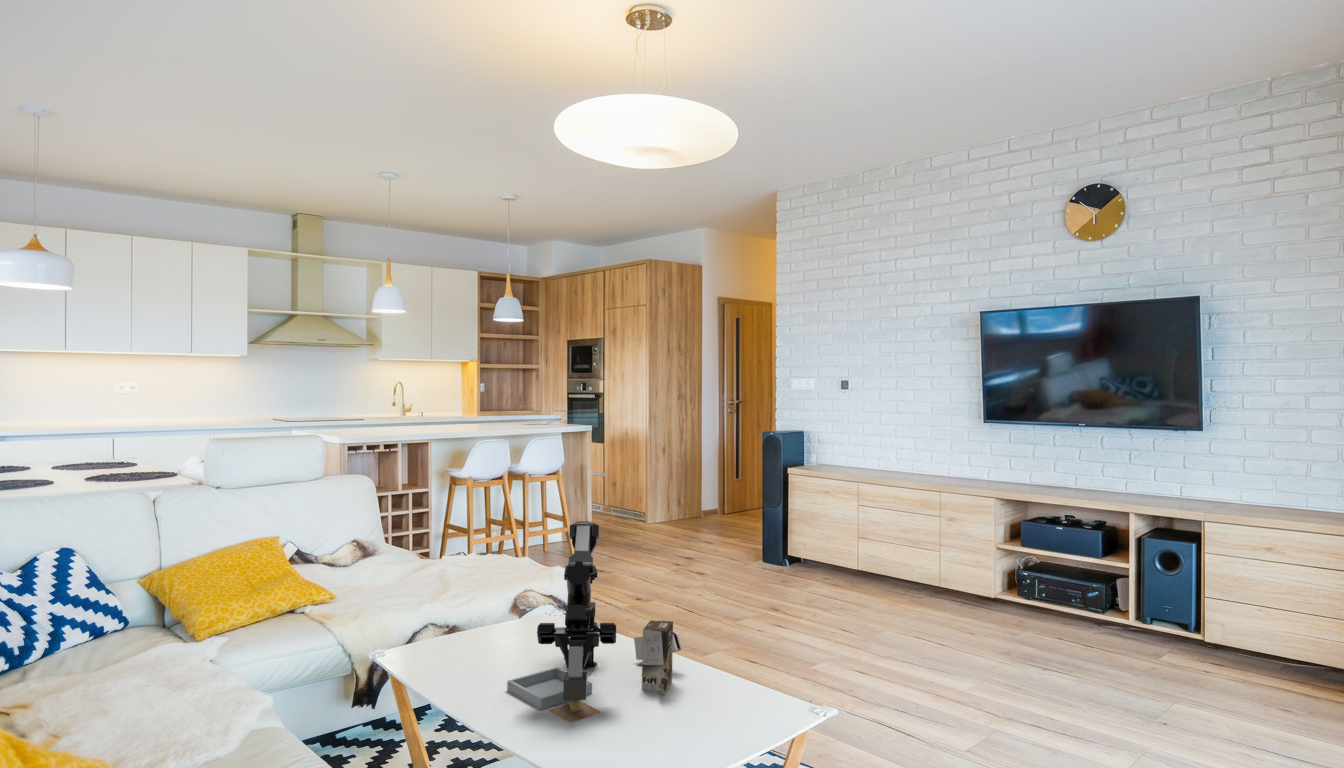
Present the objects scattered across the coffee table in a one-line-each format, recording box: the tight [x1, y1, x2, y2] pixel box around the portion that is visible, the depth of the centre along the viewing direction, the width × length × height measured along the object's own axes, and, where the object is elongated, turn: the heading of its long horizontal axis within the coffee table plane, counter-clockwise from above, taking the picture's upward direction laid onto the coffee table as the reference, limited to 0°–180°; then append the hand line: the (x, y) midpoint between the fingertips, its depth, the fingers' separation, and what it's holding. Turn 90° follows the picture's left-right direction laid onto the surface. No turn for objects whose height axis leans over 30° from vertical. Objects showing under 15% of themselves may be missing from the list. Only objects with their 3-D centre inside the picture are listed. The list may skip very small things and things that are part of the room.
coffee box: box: [641, 620, 674, 696], centre depth 198 cm, size 9×6×16 cm
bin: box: [506, 666, 593, 710], centre depth 192 cm, size 15×15×4 cm
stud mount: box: [547, 700, 602, 724], centre depth 180 cm, size 9×9×4 cm
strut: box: [563, 642, 588, 701], centre depth 181 cm, size 5×5×12 cm
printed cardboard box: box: [633, 631, 684, 661], centre depth 212 cm, size 4×10×15 cm
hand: (575, 667), depth 179 cm, fingers closed on strut, 3 cm apart
